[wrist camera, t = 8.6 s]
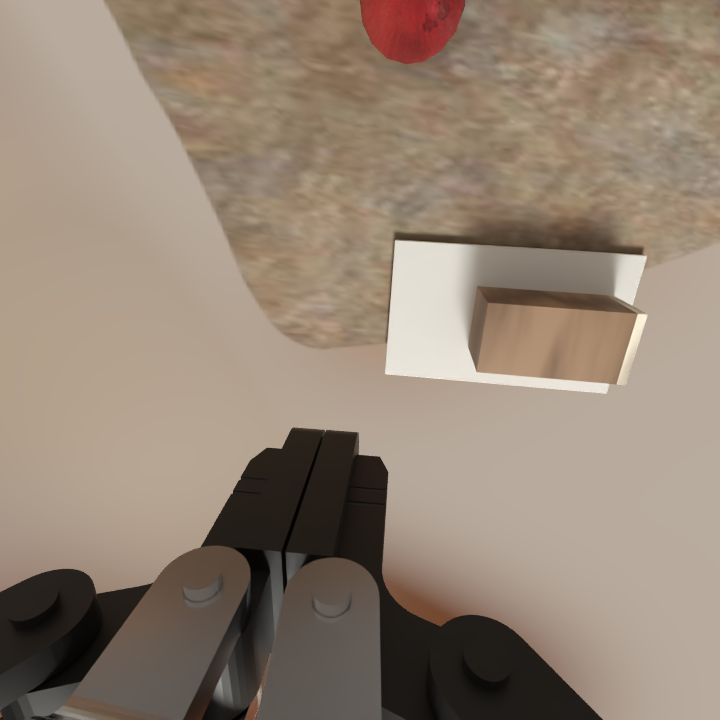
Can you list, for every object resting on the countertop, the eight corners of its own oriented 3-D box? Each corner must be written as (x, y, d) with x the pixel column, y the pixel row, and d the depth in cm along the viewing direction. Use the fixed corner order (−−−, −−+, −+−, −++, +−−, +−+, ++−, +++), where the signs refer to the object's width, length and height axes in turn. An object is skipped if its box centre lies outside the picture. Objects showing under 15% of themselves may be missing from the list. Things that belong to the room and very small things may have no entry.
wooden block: (477, 286, 33) (614, 295, 32) (468, 347, 35) (596, 357, 34) (488, 302, 28) (647, 314, 28) (476, 372, 30) (625, 385, 30)
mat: (642, 254, 31) (647, 256, 31) (603, 390, 36) (606, 393, 35) (395, 239, 33) (395, 240, 32) (385, 371, 37) (385, 373, 37)
